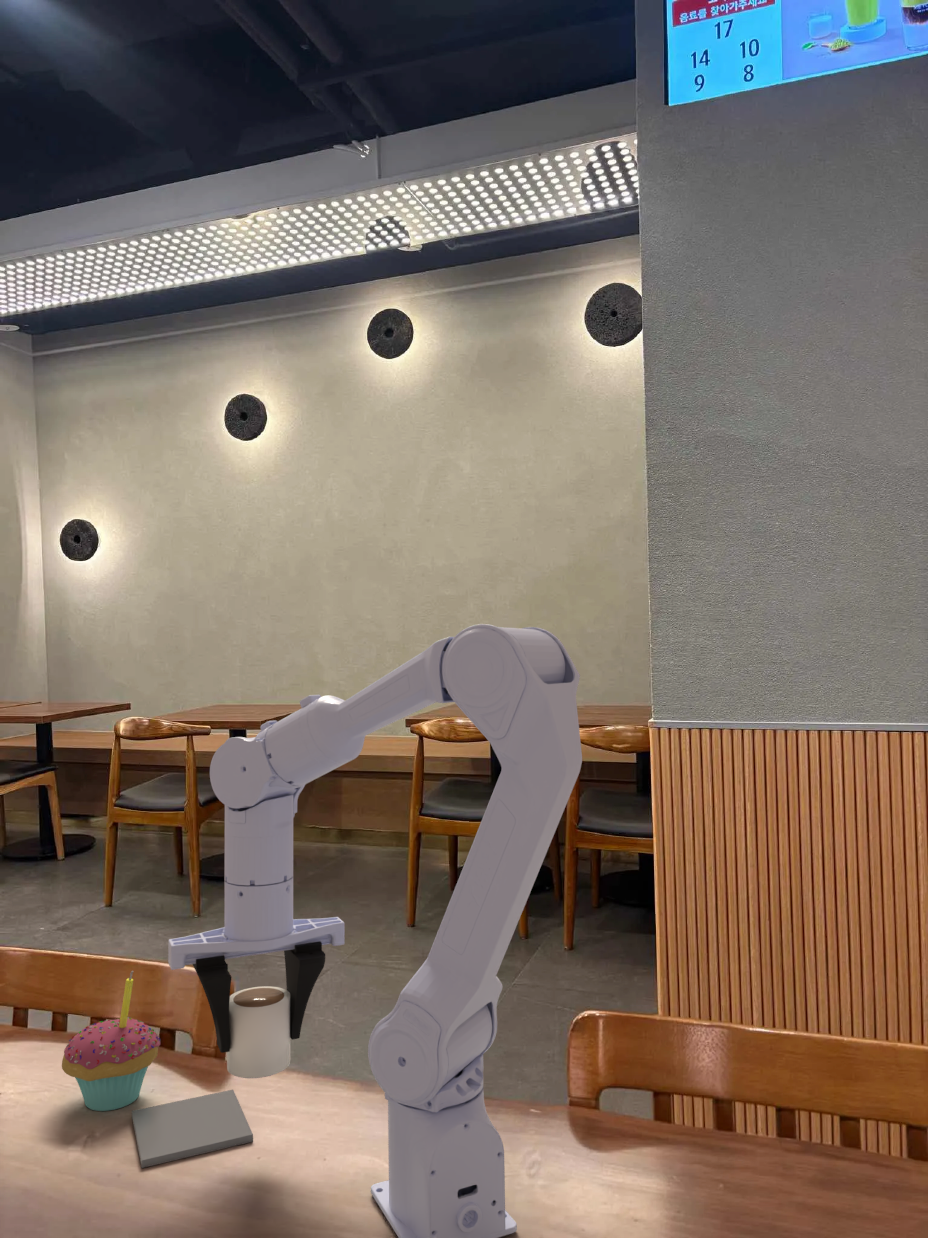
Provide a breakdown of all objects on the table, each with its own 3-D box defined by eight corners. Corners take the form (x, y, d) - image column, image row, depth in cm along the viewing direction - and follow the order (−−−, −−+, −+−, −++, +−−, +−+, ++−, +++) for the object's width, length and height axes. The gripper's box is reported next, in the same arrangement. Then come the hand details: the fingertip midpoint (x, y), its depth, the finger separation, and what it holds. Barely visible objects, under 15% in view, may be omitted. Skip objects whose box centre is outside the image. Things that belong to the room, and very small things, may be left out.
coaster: (252, 1141, 77) (252, 1134, 77) (141, 1168, 73) (141, 1160, 73) (233, 1096, 85) (233, 1089, 85) (132, 1117, 81) (132, 1111, 81)
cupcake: (173, 1080, 88) (174, 956, 89) (133, 1125, 80) (134, 987, 80) (90, 1077, 89) (91, 954, 90) (42, 1121, 81) (43, 985, 81)
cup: (297, 1070, 74) (297, 1002, 75) (234, 1083, 72) (234, 1013, 72) (281, 1046, 79) (281, 982, 79) (221, 1058, 77) (221, 992, 77)
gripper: (328, 860, 83) (328, 1009, 82) (164, 877, 77) (163, 1038, 76) (352, 876, 76) (352, 1038, 76) (174, 897, 70) (173, 1073, 70)
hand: (258, 1041), depth 76 cm, fingers closed on cup, 5 cm apart
